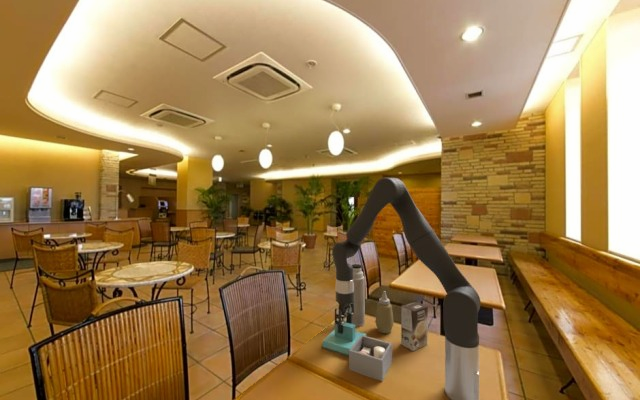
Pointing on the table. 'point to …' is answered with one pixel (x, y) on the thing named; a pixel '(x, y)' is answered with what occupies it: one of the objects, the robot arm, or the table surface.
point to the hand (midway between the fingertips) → (344, 328)
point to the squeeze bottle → (384, 315)
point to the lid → (342, 338)
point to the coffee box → (414, 325)
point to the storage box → (370, 357)
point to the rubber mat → (335, 351)
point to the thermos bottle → (358, 296)
